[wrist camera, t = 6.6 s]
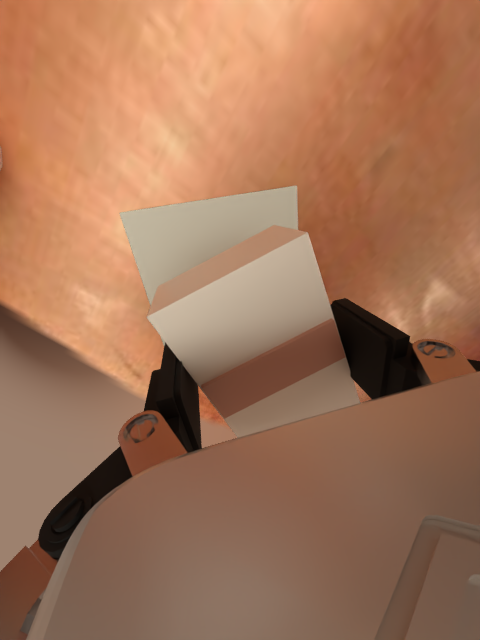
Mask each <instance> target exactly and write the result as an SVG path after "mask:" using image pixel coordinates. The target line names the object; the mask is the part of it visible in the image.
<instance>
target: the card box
mask: <svg viewBox="0 0 480 640" xmlns="http://www.w3.org/2000/svg"><path fill="white" fill-rule="evenodd" d="M147 319H148V320H149V321H150V323H151V324H152V325H153V326H154V328H155V329H156V330H157V332H158V333H159V334H160V336H161V337H162V338H163V340H164V341H165V342H166V344H167V345H168V346H169V348H170V349H171V350H172V352H173V353H174V354H175V355H176V357H177V358H178V359H179V361H182V364H183V366H184V367H185V369H186V370H187V371H188V373H189V374H190V375H191V377H192V378H193V379H194V380H195V382H196V383H197V384H198V386H199V387H200V388H201V390H202V391H203V392H204V394H205V395H206V396H207V398H208V399H209V400H210V402H211V403H212V404H213V406H214V407H215V408H216V409H217V411H218V412H219V413H220V415H221V416H222V417H223V419H224V420H225V421H226V423H227V424H228V425H229V427H230V428H231V429H232V431H233V432H234V433H235V434H236V436H237V437H238V438H239V437H242V436H245V435H249V434H252V433H256V432H259V431H263V430H266V429H270V428H273V427H277V426H280V425H284V424H287V423H291V422H294V421H298V420H301V419H305V418H308V417H312V416H315V415H319V414H322V413H326V412H329V411H333V410H337V409H340V408H344V407H347V406H351V405H354V404H358V403H360V401H359V398H358V394H357V391H356V388H355V385H354V381H353V379H352V378H351V376H350V368H349V365H348V362H347V358H346V355H345V352H344V349H343V345H342V342H341V339H340V336H339V332H338V329H337V326H336V323H335V319H334V316H333V313H332V310H331V306H330V303H329V300H328V297H327V293H326V290H325V287H324V283H323V280H322V277H321V274H320V270H319V267H318V264H317V261H316V257H315V254H314V251H313V248H312V244H311V241H310V238H309V235H308V232H304V231H300V230H295V229H290V228H286V227H281V226H277V225H273V226H271V227H269V228H267V229H265V230H263V231H262V232H260V233H258V234H256V235H254V236H252V237H250V238H248V239H246V240H245V241H243V242H241V243H239V244H237V245H235V246H233V247H231V248H229V249H227V250H226V251H224V252H222V253H220V254H218V255H216V256H214V257H212V258H210V259H209V260H207V261H205V262H203V263H201V264H199V265H197V266H195V267H193V268H192V269H190V270H188V271H186V272H184V273H182V274H180V275H178V276H176V277H175V278H173V279H171V280H169V281H167V282H165V283H163V284H161V285H159V286H158V288H157V290H156V293H155V296H154V298H153V301H152V304H151V306H150V309H149V312H148V314H147Z"/></svg>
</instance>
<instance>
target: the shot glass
mask: <svg viewBox="0 0 480 640" xmlns="http://www.w3.org/2000/svg"><path fill="white" fill-rule="evenodd" d="M2 166H3V165H2V149H1V147H0V171H1V169H2Z"/></svg>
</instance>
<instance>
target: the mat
mask: <svg viewBox="0 0 480 640" xmlns="http://www.w3.org/2000/svg"><path fill="white" fill-rule="evenodd" d="M120 216H121V219H122V222H123V225H124V228H125V231H126V234H127V237H128V240H129V243H130V246H131V249H132V252H133V255H134V258H135V261H136V264H137V267H138V270H139V273H140V276H141V279H142V282H143V285H144V288H145V291H146V294H147V297H148V300H149V303H150V306H151V304H152V301H153V298H154V296H155V293H156V290H157V288H158V286H159V285H161V284H163V283H165V282H167V281H169V280H171V279H173V278H175V277H176V276H178V275H180V274H182V273H184V272H186V271H188V270H190V269H192V268H193V267H195V266H197V265H199V264H201V263H203V262H205V261H207V260H209V259H210V258H212V257H214V256H216V255H218V254H220V253H222V252H224V251H226V250H227V249H229V248H231V247H233V246H235V245H237V244H239V243H241V242H243V241H245V240H246V239H248V238H250V237H252V236H254V235H256V234H258V233H260V232H262V231H263V230H265V229H267V228H269V227H271V226H273V225H277V226H281V227H286V228H290V229H295V230H298V205H297V186H290V187H284V188H277V189H271V190H264V191H258V192H251V193H245V194H238V195H232V196H225V197H219V198H212V199H206V200H199V201H193V202H186V203H180V204H173V205H167V206H160V207H154V208H147V209H141V210H134V211H128V212H121V213H120ZM161 339H162V342H163V345H164V346H165V341H164V340H163V338H162V337H161Z"/></svg>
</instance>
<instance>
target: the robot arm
mask: <svg viewBox="0 0 480 640" xmlns="http://www.w3.org/2000/svg"><path fill="white" fill-rule="evenodd" d="M330 306H331V310H332V313H333V316H334V319H335V323H336V326H337V329H338V332H339V336H340V339H341V342H342V345H343V349H344V352H345V355H346V358H347V362H348V365H349V368H350V376H351V378H352V379H353V380H354V381H355V382H356V383H357V384H358V385H359V386H360V387H361V388H362V389H363V390H364V391H365V392H366V393H367V394H368V395H369V397H370V398H371V399H372V400H369V401H365V402H362V403H358V404H354V405H351V406H347V407H344V408H340V409H337V410H333V411H329V412H326V413H322V414H319V415H315V416H312V417H308V418H305V419H301V420H298V421H294V422H291V423H287V424H284V425H280V426H277V427H273V428H270V429H266V430H263V431H259V432H256V433H252V434H249V435H245V436H242V437H239V438H235V439H232V440H228V441H225V442H222V443H218V444H215V445H212V446H208V447H205V448H202V447H201V430H200V412H199V394H198V385H197V383H196V382H195V380H194V379H193V378H192V377H191V375H190V374H189V373H188V371H187V370H186V369H185V367H184V366H183V364H182V361H179V359H178V358H177V357H176V355H175V354H174V353H173V352H172V350H171V349H170V348H169V346H168V345H167V344H166V342H165V346H164V352H163V358H162V364H161V369H159V370H155V371H153V372H152V375H151V380H150V384H149V389H148V394H147V398H146V403H145V408H144V412H141V413H138V414H137V415H134V416H133V417H132V418H130V419H129V420H128V421H127V422H126V423H125V424H124V425H123V427H122V428H121V430H120V432H119V435H118V440H119V444H120V447H119V448H118V449H117V450H115V451H114V452H113V453H112V454H111V455H110V456H109V457H108V458H107V459H106V460H105V461H103V462H102V463H101V464H100V465H99V466H98V467H97V468H96V469H95V470H94V471H93V472H91V473H90V474H89V475H88V476H87V477H86V478H85V479H84V480H83V481H82V482H81V483H79V484H78V485H77V486H76V487H75V488H74V489H73V490H72V491H71V492H70V493H69V494H67V495H66V496H65V497H64V498H63V499H62V500H61V501H60V502H59V503H58V504H57V505H56V506H55V507H54V508H53V509H52V510H51V512H50V513H49V515H48V516H47V517H46V519H45V520H44V523H43V525H42V527H41V529H40V532H39V538H38V540H37V541H36V542H35V543H34V544H33V545H32V546H31V547H30V548H28V547H27V546H25V547H24V548H23V549H22V550H21V551H20V552H19V553H18V554H17V555H16V556H15V557H14V558H13V559H12V560H11V561H10V562H9V563H8V564H7V565H6V566H5V567H4V568H3V569H2V570H1V572H0V640H480V361H475V360H469V359H466V358H465V357H464V355H463V354H462V353H461V352H460V350H459V349H457V348H456V347H455V346H453V345H451V344H449V343H447V342H444V341H440V340H434V339H422V340H418V341H416V342H414V343H413V344H412V343H410V342H409V339H410V336H409V335H407V334H405V333H404V332H402V331H400V330H399V329H397V328H395V327H393V326H392V325H390V324H388V323H387V322H385V321H383V320H382V319H380V318H378V317H377V316H375V315H373V314H371V313H370V312H368V311H366V310H365V309H363V308H361V307H360V306H358V305H356V304H355V303H353V302H351V301H350V300H348V299H346V298H344V299H340V300H335V301H333V303H332V304H331V305H330Z"/></svg>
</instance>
